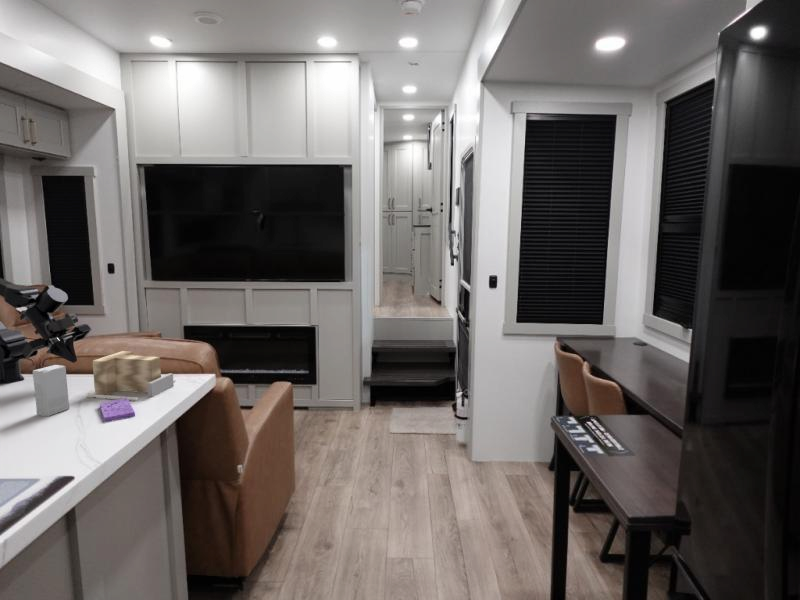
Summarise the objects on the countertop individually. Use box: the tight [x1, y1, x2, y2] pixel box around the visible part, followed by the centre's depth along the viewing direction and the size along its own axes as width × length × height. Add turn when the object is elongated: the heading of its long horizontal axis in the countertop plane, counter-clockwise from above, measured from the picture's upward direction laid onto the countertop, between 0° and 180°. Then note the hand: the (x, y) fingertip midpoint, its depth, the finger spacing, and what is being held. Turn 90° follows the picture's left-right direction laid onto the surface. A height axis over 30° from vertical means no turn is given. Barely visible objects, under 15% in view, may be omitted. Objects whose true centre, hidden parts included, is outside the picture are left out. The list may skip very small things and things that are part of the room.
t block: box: [92, 350, 162, 395], centre depth 147 cm, size 16×12×10 cm
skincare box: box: [32, 364, 70, 417], centre depth 128 cm, size 6×4×12 cm
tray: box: [86, 372, 176, 402], centre depth 148 cm, size 18×18×4 cm
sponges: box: [98, 398, 136, 423], centre depth 130 cm, size 7×13×2 cm, turn 36°
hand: (75, 361), depth 150 cm, fingers closed
